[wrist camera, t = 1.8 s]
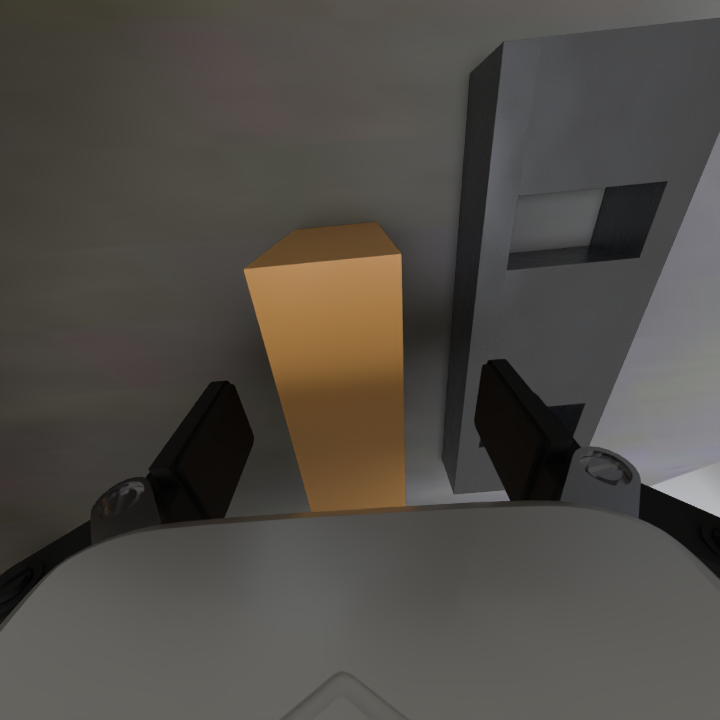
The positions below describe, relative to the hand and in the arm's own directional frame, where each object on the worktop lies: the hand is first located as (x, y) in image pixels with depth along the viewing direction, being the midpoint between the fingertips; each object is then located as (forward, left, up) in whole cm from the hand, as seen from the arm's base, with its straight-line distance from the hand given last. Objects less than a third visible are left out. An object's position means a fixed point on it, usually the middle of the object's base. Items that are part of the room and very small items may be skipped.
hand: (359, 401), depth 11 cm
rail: (0, -9, -7) cm, 12 cm away
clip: (0, +1, -7) cm, 7 cm away
